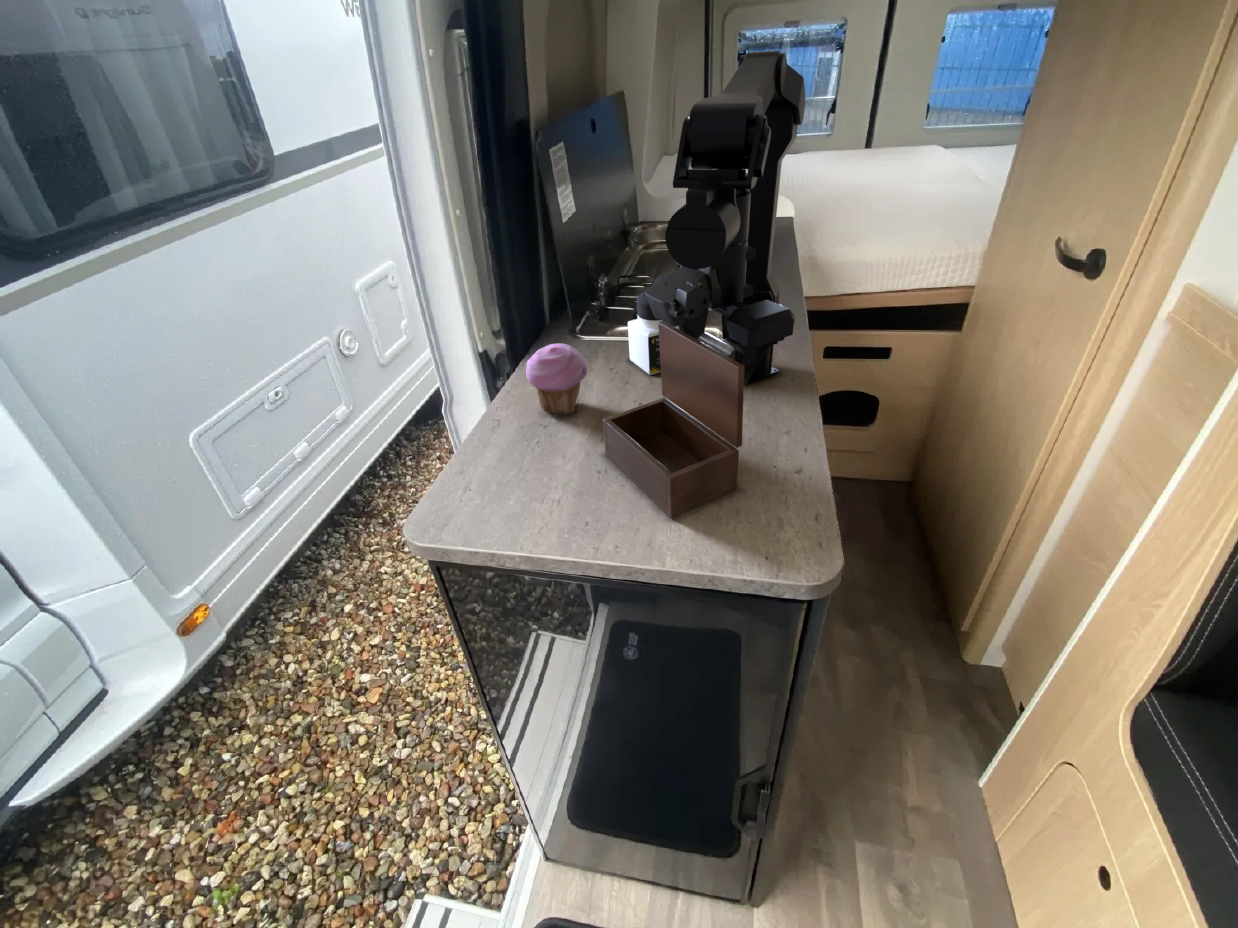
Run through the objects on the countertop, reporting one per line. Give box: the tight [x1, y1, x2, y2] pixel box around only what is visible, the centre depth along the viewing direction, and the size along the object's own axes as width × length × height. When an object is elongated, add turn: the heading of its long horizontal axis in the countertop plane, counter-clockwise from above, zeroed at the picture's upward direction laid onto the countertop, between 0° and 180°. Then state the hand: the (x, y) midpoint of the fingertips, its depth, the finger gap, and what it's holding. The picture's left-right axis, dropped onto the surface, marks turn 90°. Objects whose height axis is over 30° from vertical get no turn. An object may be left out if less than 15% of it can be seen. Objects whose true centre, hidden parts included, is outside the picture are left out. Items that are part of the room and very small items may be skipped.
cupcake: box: [525, 342, 588, 415], centre depth 90 cm, size 9×9×10 cm
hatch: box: [658, 321, 745, 449], centre depth 73 cm, size 10×16×4 cm
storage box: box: [602, 396, 740, 519], centre depth 76 cm, size 10×16×6 cm, turn 30°
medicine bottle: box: [627, 291, 680, 376], centre depth 100 cm, size 7×7×12 cm
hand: (715, 372), depth 73 cm, fingers open, 9 cm apart
